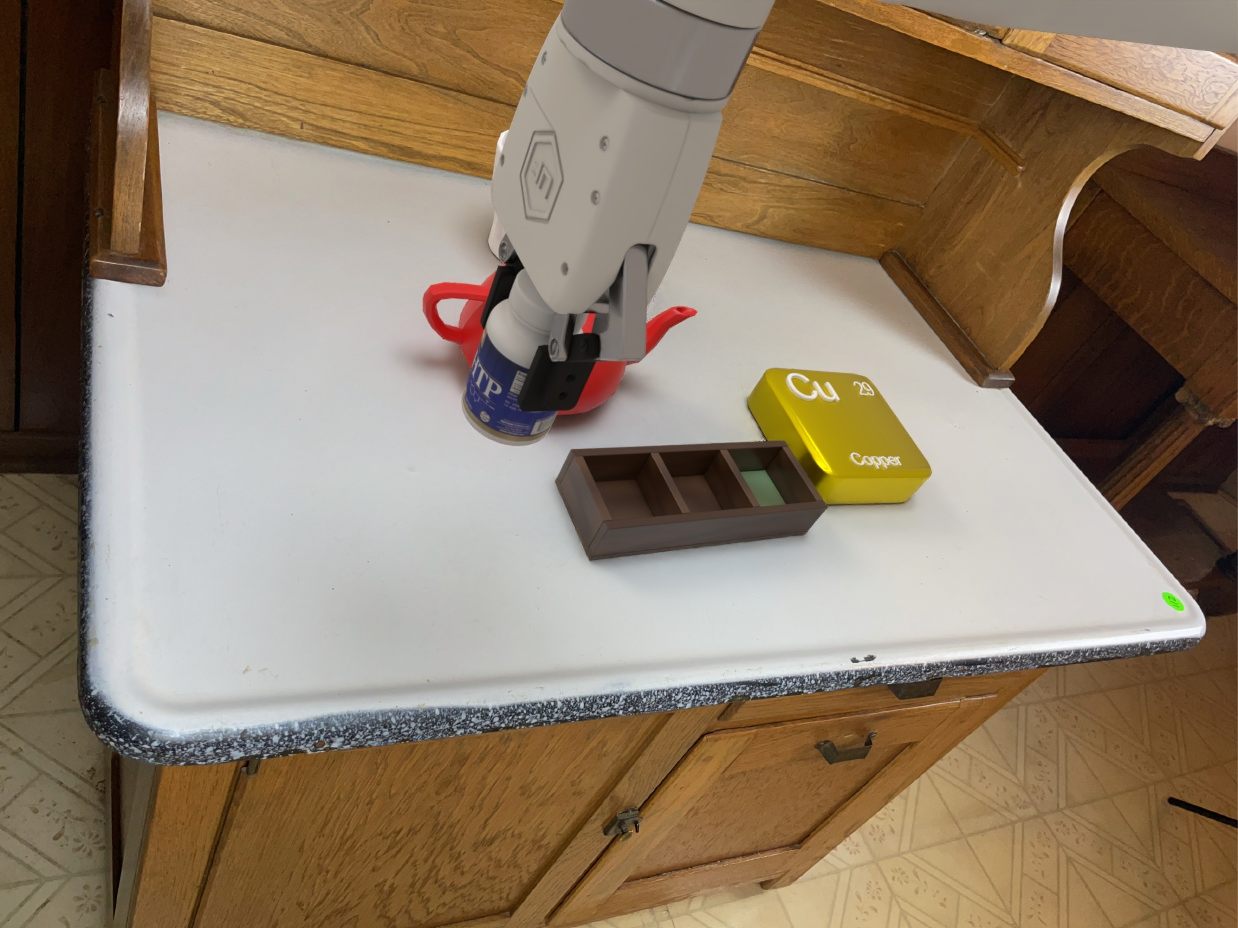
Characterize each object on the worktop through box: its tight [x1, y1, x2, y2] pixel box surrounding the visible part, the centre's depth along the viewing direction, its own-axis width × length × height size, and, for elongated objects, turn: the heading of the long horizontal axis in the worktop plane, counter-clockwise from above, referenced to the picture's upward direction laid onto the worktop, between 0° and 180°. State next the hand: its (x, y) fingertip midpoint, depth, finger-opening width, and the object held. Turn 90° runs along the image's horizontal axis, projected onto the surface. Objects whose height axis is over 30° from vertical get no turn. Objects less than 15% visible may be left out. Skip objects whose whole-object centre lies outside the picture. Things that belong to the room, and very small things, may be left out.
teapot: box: [422, 263, 698, 416], centre depth 76 cm, size 25×16×12 cm, turn 107°
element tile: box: [747, 367, 933, 505], centre depth 87 cm, size 15×15×5 cm
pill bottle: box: [460, 269, 589, 447], centre depth 45 cm, size 5×5×9 cm
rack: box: [554, 440, 829, 561], centre depth 73 cm, size 8×23×4 cm, turn 114°
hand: (526, 364), depth 46 cm, fingers closed on pill bottle, 5 cm apart
